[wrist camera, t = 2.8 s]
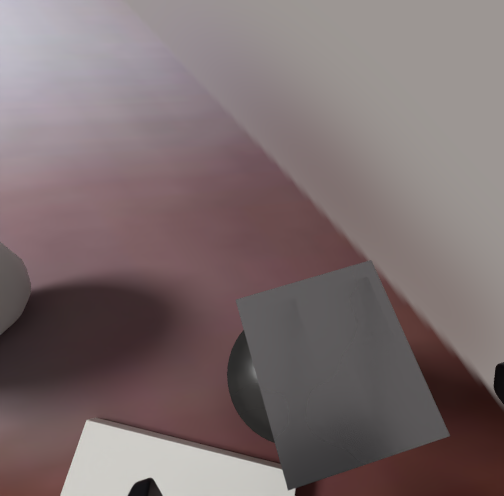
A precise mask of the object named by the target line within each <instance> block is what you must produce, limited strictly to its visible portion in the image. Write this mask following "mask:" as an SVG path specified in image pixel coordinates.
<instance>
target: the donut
mask: <svg viewBox="0 0 504 496" xmlns="http://www.w3.org/2000/svg"><path fill="white" fill-rule="evenodd" d="M30 294H31V282H30V279H29V276H28V272H27V269H26V267H25V265H24V263H23V261H22V259H20V258H19V257H18V256H17V255H16V254H14V253H13V252H12V251H11V250H9V249H8V248H7V247H6V246H4V245H3V244H2V243H1V242H0V335H1V334H2V333H3V332H4V331H5V330H6V329H8V328H9V327H10V326H11V325H12V324H13V323H14V322H15V321H16V320H17V319H18V318H19V317H20V316H21V315H22V312H23V310H24V308H25V306H26V304H27V302H28V299H29V296H30Z"/></svg>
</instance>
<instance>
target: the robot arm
mask: <svg viewBox="0 0 504 496" xmlns="http://www.w3.org/2000/svg"><path fill="white" fill-rule="evenodd" d="M494 390H495V393H496V394H497V396H498V398H499V399H500V400H501V401H502V403H503V404H504V362H503V363H500V364H498V365H497V366H496V369H495V378H494ZM128 496H163V495H162V493H161V491H160V490H159V488H158V486H157V484H156V483H155V481H154V479H153V478H147V479H144V480H141V481H138V482H136V483H135V484H134V485H133V486H132V488H131V490H130V492H129V494H128Z"/></svg>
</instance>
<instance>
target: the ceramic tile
mask: <svg viewBox="0 0 504 496" xmlns="http://www.w3.org/2000/svg"><path fill="white" fill-rule="evenodd" d="M147 478H153V479H154V481H155V483H156V484H157V486H158V488H159V490H160V491H161V493H162V495H163V496H295V489H296V488H294V489H291V490H288V489H287V485H286V481H285V478H284V474H283V470H282V467H281V464H279V463H275V462H271V461H267V460H263V459H259V458H255V457H251V456H247V455H243V454H239V453H235V452H231V451H227V450H223V449H219V448H215V447H211V446H207V445H203V444H199V443H195V442H191V441H187V440H183V439H179V438H175V437H171V436H167V435H163V434H159V433H155V432H151V431H147V430H143V429H139V428H135V427H131V426H128V425H124V424H120V423H116V422H112V421H108V420H104V419H100V418H93V419H89V420H87V421H86V423H85V426H84V429H83V432H82V435H81V438H80V441H79V444H78V446H77V449H76V452H75V455H74V458H73V461H72V464H71V467H70V469H69V472H68V475H67V478H66V481H65V484H64V487H63V490H62V493H61V495H60V496H128V494H129V492H130V490H131V488H132V486H133V485H134V484H135V483H136V482H138V481H141V480H144V479H147Z"/></svg>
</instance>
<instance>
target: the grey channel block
mask: <svg viewBox="0 0 504 496" xmlns="http://www.w3.org/2000/svg"><path fill="white" fill-rule="evenodd" d="M236 303H237V306H238V310H239V314H240V317H241V321H242V325H243V328H244V330H243V332H242V333H241V334H240V335H239V337H238V339H237V340H236V342H235V344H234V346H233V348H232V351H231V354H230V357H229V363H228V372H227V378H228V387H229V392H230V396H231V399H232V402H233V404H234V406H235V408H236V410H237V412H238V414H239V415H240V417H241V418H242V419H243V421H244V422H245V423H246V424H247V425H248V426H249V427H250V428H251V429H252V430H253V431H254V432H256V433H257V434H258V435H260V436H261V437H263V438H265V439H267V440H269V441H271V442H274V443H275V445H276V449H277V452H278V456H279V459H280V463H281V467H282V470H283V474H284V478H285V481H286V485H287V489H288V490H291V489H294V488H297V487H300V486H303V485H306V484H309V483H312V482H315V481H318V480H321V479H324V478H327V477H330V476H333V475H336V474H339V473H342V472H345V471H348V470H351V469H354V468H357V467H360V466H363V465H365V464H368V463H371V462H374V461H377V460H380V459H383V458H386V457H389V456H392V455H395V454H398V453H401V452H404V451H407V450H410V449H413V448H416V447H419V446H422V445H425V444H428V443H431V442H434V441H437V440H440V439H442V438H445V437H448V436H450V435H449V432H448V430H447V428H446V426H445V424H444V421H443V419H442V417H441V415H440V412H439V410H438V408H437V406H436V403H435V401H434V399H433V397H432V395H431V392H430V390H429V388H428V386H427V383H426V381H425V379H424V377H423V375H422V372H421V370H420V368H419V366H418V363H417V361H416V359H415V357H414V354H413V352H412V350H411V348H410V346H409V343H408V341H407V339H406V337H405V334H404V332H403V330H402V328H401V325H400V323H399V321H398V319H397V317H396V314H395V312H394V310H393V308H392V305H391V303H390V301H389V299H388V297H387V294H386V292H385V290H384V288H383V285H382V283H381V281H380V279H379V276H378V274H377V272H376V270H375V268H374V265H373V263H372V261H371V260H370V261H367V262H363V263H360V264H357V265H353V266H350V267H346V268H343V269H339V270H336V271H333V272H329V273H326V274H322V275H319V276H315V277H312V278H309V279H305V280H302V281H298V282H295V283H291V284H288V285H285V286H281V287H278V288H274V289H271V290H267V291H264V292H261V293H257V294H254V295H250V296H247V297H243V298H240V299H237V300H236Z"/></svg>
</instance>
